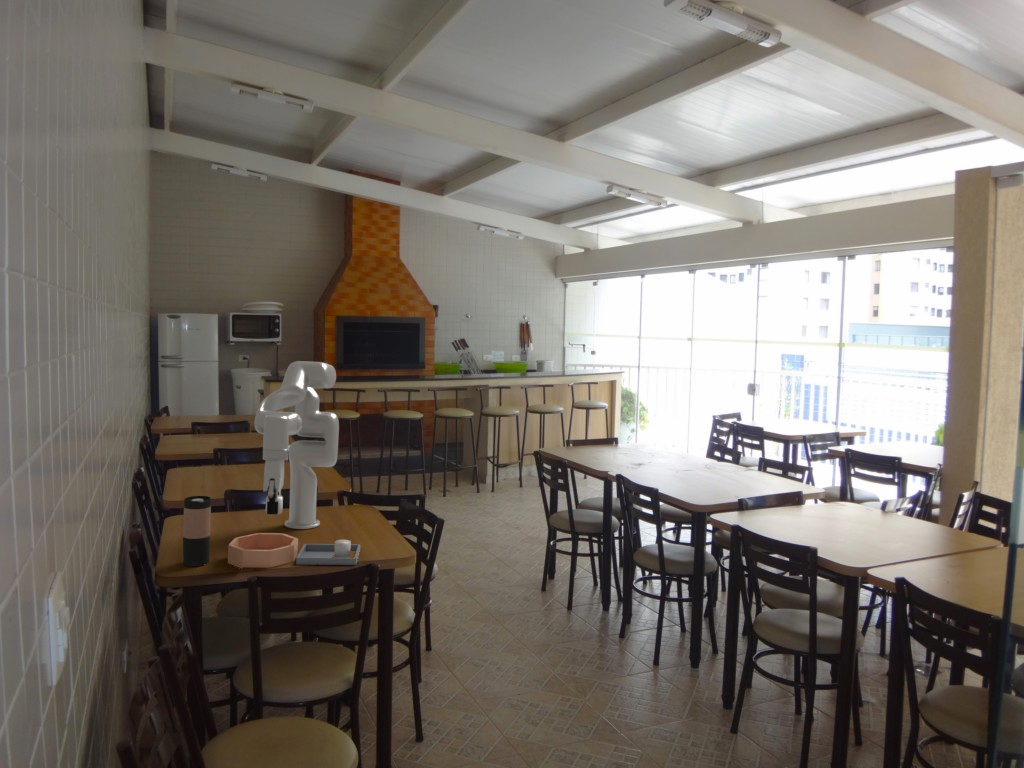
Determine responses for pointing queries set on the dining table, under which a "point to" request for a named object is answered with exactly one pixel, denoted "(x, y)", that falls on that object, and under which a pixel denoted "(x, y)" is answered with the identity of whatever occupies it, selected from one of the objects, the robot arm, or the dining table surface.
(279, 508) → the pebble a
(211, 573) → the dining table surface
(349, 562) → the parts tray
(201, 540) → the travel mug
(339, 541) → the pebble
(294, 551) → the bowl
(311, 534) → the dining table surface
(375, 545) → the dining table surface
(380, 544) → the dining table surface
